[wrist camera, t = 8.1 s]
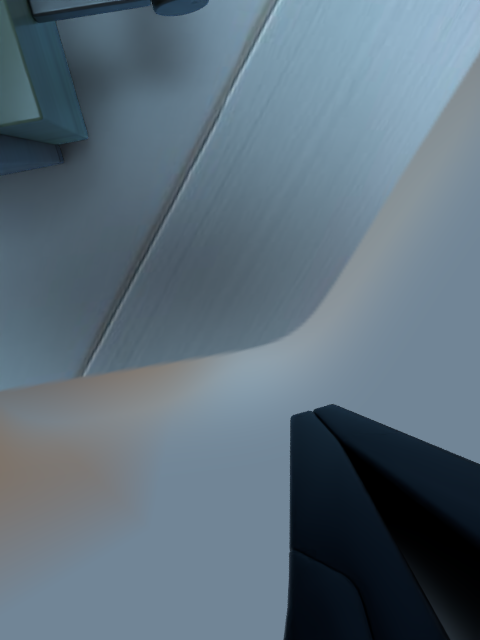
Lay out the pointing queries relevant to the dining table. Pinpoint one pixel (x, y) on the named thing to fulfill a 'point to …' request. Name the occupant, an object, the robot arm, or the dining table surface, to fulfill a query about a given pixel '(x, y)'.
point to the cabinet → (26, 154)
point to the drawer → (51, 64)
